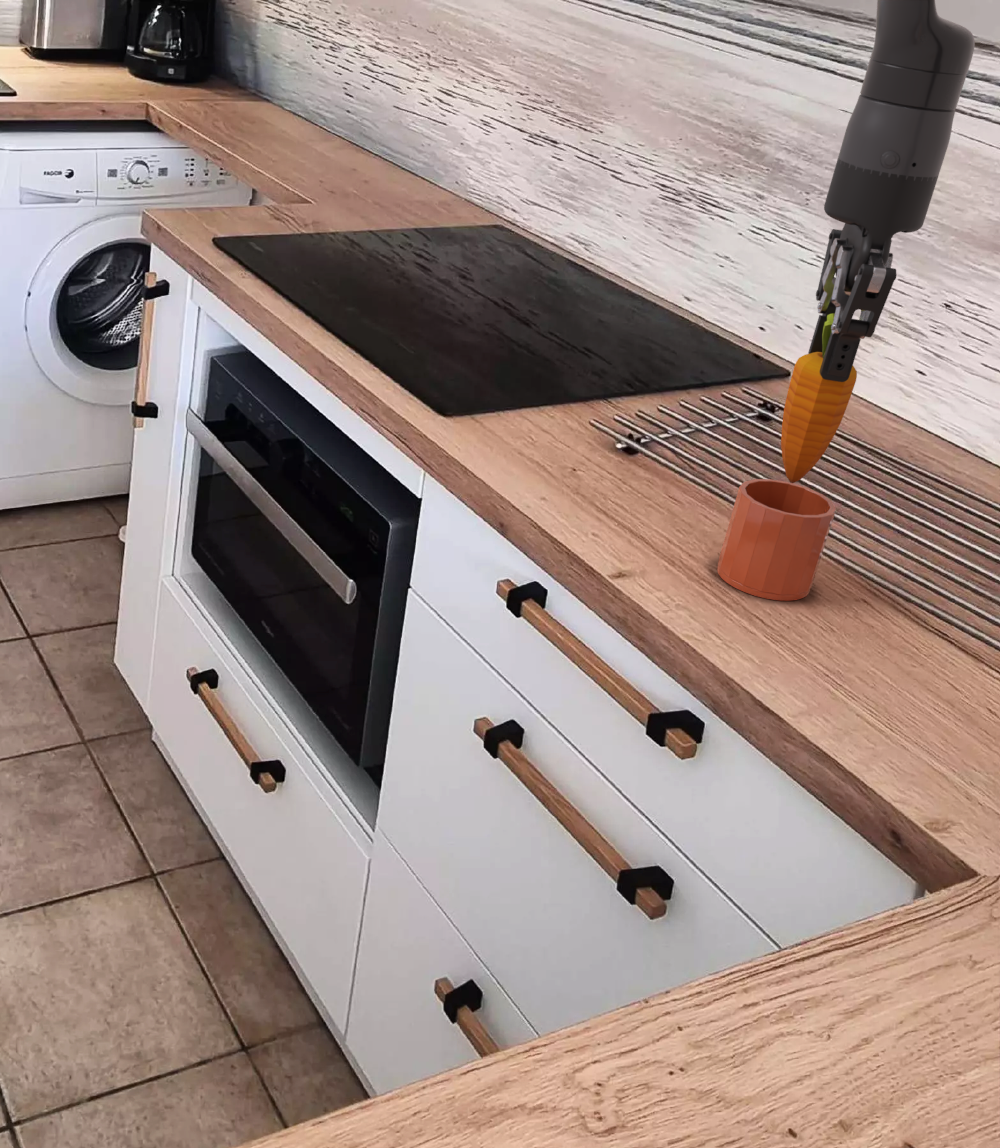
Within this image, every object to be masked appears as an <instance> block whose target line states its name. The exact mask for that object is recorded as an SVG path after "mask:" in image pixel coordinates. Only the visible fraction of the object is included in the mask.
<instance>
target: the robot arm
mask: <svg viewBox="0 0 1000 1148" xmlns="http://www.w3.org/2000/svg"><path fill="white" fill-rule="evenodd" d="M936 6H937V5H936V0H876V15H875V18H876V19H875V32H874V33H875V35H874V42H873V43H874V44H873V47H872V50H871V54H870V58H869V60H868V65H867V68H866V71H865V74H864V78H863V81H862V85H861V88H860V93H859V94H858V95H859V96H858V98H857V101H856V103H855V106H854V109H853V111H852V113H851V115H850V118H849V120H848V122H847V126H846V128H845V131H844V136H843V139H842V142H841V147H840V149H839V152H838V156H837V161H836V164H835V167H834V170H833V172H832V173H833V174H832V177H831V180H830V184H829V188H828V192H827V195H826V198H825V202H824V204H823V205H824V206H823V210H824V213H825V214H826V215H827V216H828V217H830V218H831V219H833V220H835V221H837V222H841V223H843V224H844V225H843V228H842V229H836V228H833V229H831V231H830V232H829V235H828V242H827V247H826V251H825V256H824V260H823V264H822V270H821V273H820V277H819V281H818V286H817V287H818V288H817V290H816V291H815V292H816V293H815V300H816V301H817V302H818V303H817V307H816V308H817V313H818V314H819V315H818V319H817V322H816V325H815V327H814V328H815V329H814V332H813V334H812V339H811V342H810V345H809V349H808V353H807V354H810V353H814V352H822V351H823V344H822V333H823V327H824V323H825V322H826V321H827V315H829V314H835V316H834V320H833V324H832V326H831V329H832V333H831V334H830V338H829V341H828V344H827V348H826V351H825V355H824V358H823V361H822V365H821V368H820V375H821V377H822V378H823V379H825V380H831V381H838V382H845V381H847V380H848V378H849V376H850V372H851V369H852V366H854V362H855V360H856V355H857V353H858V349H859V346H860V342H861V340H864V339H865V338H872V337H873V334H874V333H875V331H876V327H877V325H878V322H879V319H880V317H881V315H882V313H883V310H884V307H885V305H886V303H887V300H888V297H889V295H890V293H891V290H892V288H893V286H894V283H895V281H896V280H897V269H896V268H894V267H892V264H893V259H894V253H893V252H890V251H891V246H892V243H893V240H892V239H893V238H894V235H896V234H898V233H904V234H906V233H907V234H908V233H909V234H910V233H914V232H917V231H919V230H920V229H921V228H922V227H923V225H924V223H925V221H926V217H927V213H928V210H929V208H930V204H931V201H932V198H933V195H934V191H935V189H936V185H937V181H938V180H939V175H940V172H941V170H942V167H943V163H944V160H945V157H946V154H947V151H948V147H949V144H950V141H951V135H952V129H953V122H954V117H955V114H956V109H957V106H958V104H959V100H960V97H961V94H962V90H963V88H964V85H965V82H966V78H967V75H968V72H969V70H970V66H971V63H972V60H973V55H974V52H975V43H976V42H975V36H974V34H973V32H971V30H970V29H968V28H967V27H965V26H963V25H961V24H959V23H956V22H953V21H951V20H947V19H945V18H943V17H940V16H939V14H938V11H937V7H936ZM859 310H860V315H859V319H856V318H853V317H854V314H855V312H857V311H859Z"/></svg>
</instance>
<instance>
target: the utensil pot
mask: <svg viewBox="0 0 1000 1148" xmlns="http://www.w3.org/2000/svg"><path fill="white" fill-rule="evenodd" d="M836 511H837V508H836V506H835V504H834V502H833V501H832V500H831V499H830V498H828V497H827V496H825V495H824V494H822V493H821V492H818V491H816V490H814V489H812V488H810V487H807V486H803V485H800V484H796V483H790V481H785V480H779V479H774V478H773V479H772V478H771V479H770V478H754V479H749V480H746V481H743V482H742V483H741V485H739V487H738V490H737V494H736V498H735V501H734V505H733V508H732V512H731V515H730V518H729V522H728V526H727V529H726V532H725V535H724V540H723V543H722V546H721V550H720V554H719V557H718V561H717V567H716V572H717V574H718V576H719V577H720V579H722V580H723V581H724V582H725V583H727V584H728V585H729V586H731V587H733V588H735V589H737V590H738V591H741V592H743V593H745V594H748V595H752V596H755V597H758V598H762V599H766V600H774V601H781V602H782V601H783V602H785V601H786V602H789V601H797V600H801V599H803V598H805V597H807V596H808V595H809V593H810V591H811V588H812V586H813V583H814V580H815V577H816V575H817V571H818V567H819V564H820V561H821V559H822V555H823V553H824V549H825V546H826V543H827V540H828V536H829V533H830V530H831V527H832V523H833V522H834V518H835V514H836Z"/></svg>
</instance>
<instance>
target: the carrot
mask: <svg viewBox="0 0 1000 1148" xmlns="http://www.w3.org/2000/svg"><path fill="white" fill-rule="evenodd" d="M834 316H835V314H829V315H827V321H826V322H825V323H824V327H823V333H822V344H823V351H822V352H814V353H810V354H808V353H806V354H804V355H801V356H800V357H798V359H797V360H796V361H795V364H794V365H793V371H792V374H791V377H790V381H789V386H788V389H787V394H786V398H785V403H784V406H783V412H782V413H783V414H782V423H781V434H780V435H781V437H780V439H781V440H780V447H781V449H780V450H781V458H782V464H783V467H784V472H785V476H786V478H787V479H788V482H790V483H794V484H796V483H797V482H798V481H801V480H802V479H803V478H804V477H805V476H806V475H807V474H808V473H809V472H810V471H811V470H812V469H813V468H814V467H815V466H816V465H817V463H818V462H819V460H820V459H821V458H822V457H823V456H824V454H825V452H826V451H827V449H828V448H829V446H830V445H831V442H832V441H833V439H834V437H835V435H836V434H837V431H838V429H839V427H840V425H841V424H842V420H843V418H844V415H845V413H846V410H847V407H848V405H849V402H850V400H851V396H852V394H853V391H854V388H855V385H856V383H857V377H858V372H857V369H856V368H855V366H854V365H853V366H852V369H851V372H850V376H849V378H848V380H847V381H845V382H838V381H831V380H825V379H823V378H822V377H821V375H820V368H821V365H822V361H823V358H824V355H825V351H826V348H827V344H828V341H829V338H830V334H831V333H832V329H831V326H832V324H833V320H834Z"/></svg>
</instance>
